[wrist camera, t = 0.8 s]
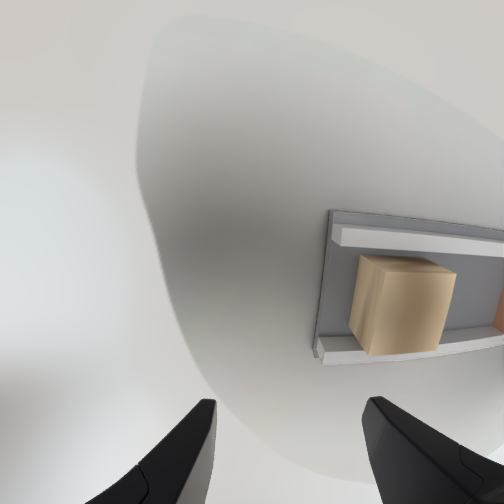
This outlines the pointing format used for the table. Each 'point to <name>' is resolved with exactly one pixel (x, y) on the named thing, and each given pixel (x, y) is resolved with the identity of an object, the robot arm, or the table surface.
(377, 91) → the table surface
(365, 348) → the tan block
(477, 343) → the channel
